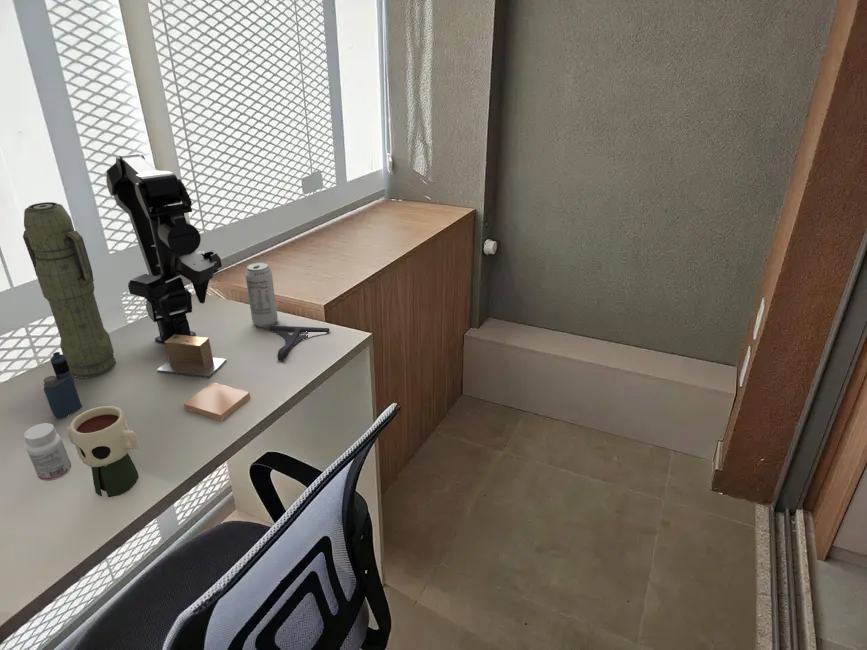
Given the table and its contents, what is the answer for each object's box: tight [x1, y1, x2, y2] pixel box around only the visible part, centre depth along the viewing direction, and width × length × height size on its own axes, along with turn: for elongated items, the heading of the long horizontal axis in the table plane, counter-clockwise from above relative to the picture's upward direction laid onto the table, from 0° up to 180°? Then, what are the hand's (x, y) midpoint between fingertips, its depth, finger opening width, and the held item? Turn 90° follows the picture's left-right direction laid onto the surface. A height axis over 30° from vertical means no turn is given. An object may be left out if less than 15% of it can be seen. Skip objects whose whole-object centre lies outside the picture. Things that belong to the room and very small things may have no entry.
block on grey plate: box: [156, 334, 227, 379], centre depth 120 cm, size 12×7×7 cm, turn 79°
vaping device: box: [43, 351, 83, 420], centre depth 104 cm, size 3×5×12 cm, turn 161°
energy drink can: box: [244, 261, 279, 328], centre depth 136 cm, size 6×6×15 cm
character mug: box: [66, 405, 140, 498], centre depth 87 cm, size 11×7×13 cm, turn 83°
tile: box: [183, 382, 251, 421], centre depth 110 cm, size 2×8×9 cm
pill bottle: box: [23, 422, 72, 482], centre depth 91 cm, size 5×5×8 cm
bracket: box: [268, 325, 330, 362], centre depth 130 cm, size 14×15×3 cm
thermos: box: [22, 201, 117, 379], centre depth 113 cm, size 9×12×35 cm
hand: (185, 311), depth 117 cm, fingers open, 9 cm apart
